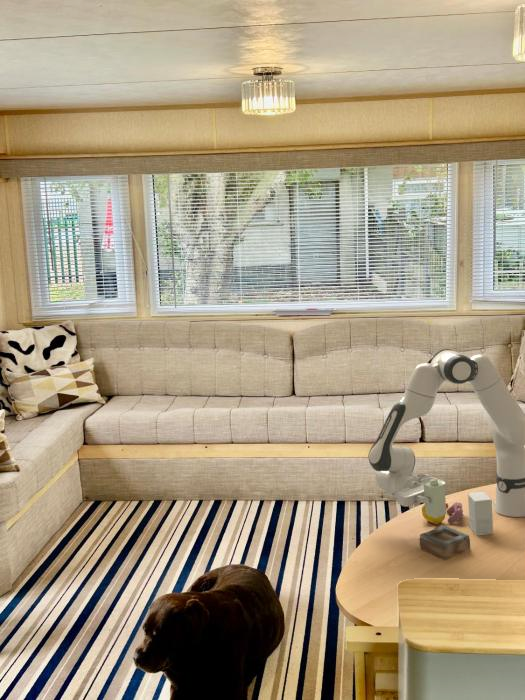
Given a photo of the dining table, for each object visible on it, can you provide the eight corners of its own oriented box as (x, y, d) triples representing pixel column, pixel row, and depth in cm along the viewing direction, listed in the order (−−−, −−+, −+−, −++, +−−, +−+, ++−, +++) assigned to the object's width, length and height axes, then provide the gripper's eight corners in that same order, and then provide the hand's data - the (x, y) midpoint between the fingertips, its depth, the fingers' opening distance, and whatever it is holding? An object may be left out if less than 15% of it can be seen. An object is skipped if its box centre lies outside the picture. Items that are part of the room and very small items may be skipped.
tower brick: (436, 510, 269) (434, 476, 267) (446, 514, 265) (444, 480, 263) (425, 514, 267) (423, 480, 264) (435, 518, 262) (433, 484, 260)
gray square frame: (445, 538, 273) (444, 524, 272) (470, 549, 263) (469, 535, 262) (420, 548, 267) (419, 534, 266) (444, 560, 257) (444, 545, 256)
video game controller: (458, 527, 284) (466, 511, 282) (446, 522, 284) (454, 506, 283) (456, 517, 293) (464, 501, 292) (445, 512, 294) (453, 496, 292)
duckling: (453, 523, 284) (451, 498, 282) (445, 528, 281) (443, 503, 279) (427, 516, 292) (425, 492, 291) (419, 521, 289) (417, 496, 287)
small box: (493, 533, 273) (492, 499, 270) (476, 535, 273) (474, 501, 270) (486, 524, 281) (484, 491, 278) (469, 526, 280) (467, 493, 278)
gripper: (386, 487, 270) (413, 498, 258) (429, 472, 280) (457, 482, 268) (388, 504, 271) (414, 515, 259) (430, 488, 281) (458, 498, 269)
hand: (436, 498), depth 264 cm, fingers closed on tower brick, 5 cm apart
